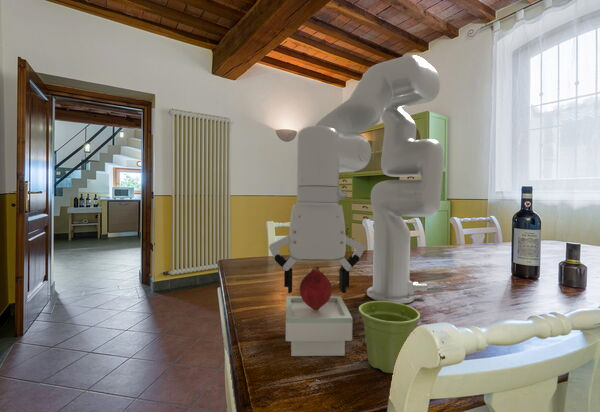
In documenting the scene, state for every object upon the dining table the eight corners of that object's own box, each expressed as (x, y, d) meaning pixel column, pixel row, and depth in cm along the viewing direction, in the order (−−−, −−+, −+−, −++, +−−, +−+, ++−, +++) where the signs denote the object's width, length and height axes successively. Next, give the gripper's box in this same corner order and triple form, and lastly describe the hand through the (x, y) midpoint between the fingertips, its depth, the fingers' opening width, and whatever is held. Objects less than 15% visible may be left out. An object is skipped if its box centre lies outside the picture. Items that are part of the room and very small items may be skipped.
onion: (330, 317, 52) (329, 270, 51) (297, 314, 53) (296, 269, 53) (333, 305, 57) (332, 263, 57) (303, 303, 58) (303, 262, 58)
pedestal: (340, 329, 61) (340, 296, 61) (351, 358, 50) (352, 318, 50) (285, 329, 60) (286, 296, 60) (285, 359, 49) (285, 318, 49)
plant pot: (351, 349, 53) (352, 300, 53) (403, 348, 54) (404, 299, 53) (368, 382, 43) (369, 323, 43) (430, 379, 44) (431, 321, 44)
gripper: (359, 197, 58) (358, 285, 59) (270, 196, 58) (269, 285, 58) (370, 197, 51) (368, 297, 51) (268, 196, 50) (267, 297, 51)
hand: (316, 290), depth 55 cm, fingers open, 9 cm apart
